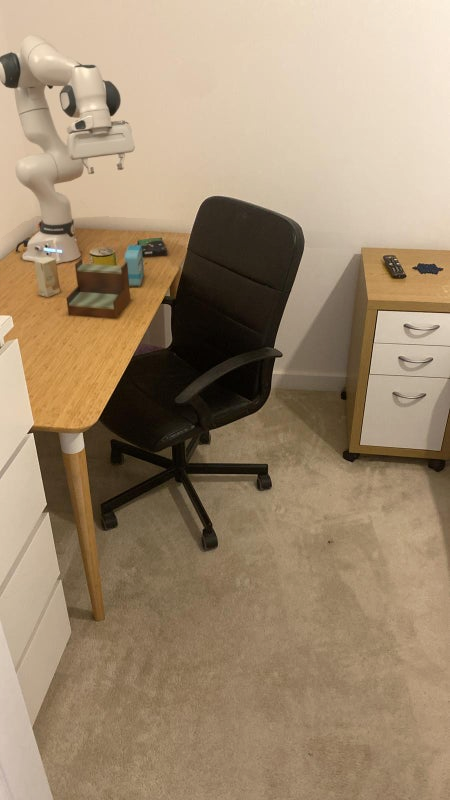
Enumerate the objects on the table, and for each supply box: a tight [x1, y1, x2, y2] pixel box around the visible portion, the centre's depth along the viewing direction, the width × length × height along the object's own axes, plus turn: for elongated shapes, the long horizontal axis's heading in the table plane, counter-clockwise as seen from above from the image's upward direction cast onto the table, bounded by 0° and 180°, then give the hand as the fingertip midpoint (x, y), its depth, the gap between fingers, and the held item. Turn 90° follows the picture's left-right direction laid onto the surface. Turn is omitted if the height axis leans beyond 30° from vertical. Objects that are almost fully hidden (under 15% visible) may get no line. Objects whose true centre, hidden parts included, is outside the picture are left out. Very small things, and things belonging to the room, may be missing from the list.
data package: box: [124, 244, 145, 288], centre depth 231 cm, size 12×4×12 cm, turn 179°
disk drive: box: [137, 237, 168, 258], centre depth 261 cm, size 10×3×15 cm
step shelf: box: [66, 258, 131, 320], centre depth 211 cm, size 16×15×14 cm
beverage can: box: [88, 246, 118, 266], centre depth 229 cm, size 9×9×12 cm
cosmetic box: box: [33, 257, 61, 298], centre depth 221 cm, size 6×4×12 cm
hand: (106, 171), depth 198 cm, fingers open, 8 cm apart
